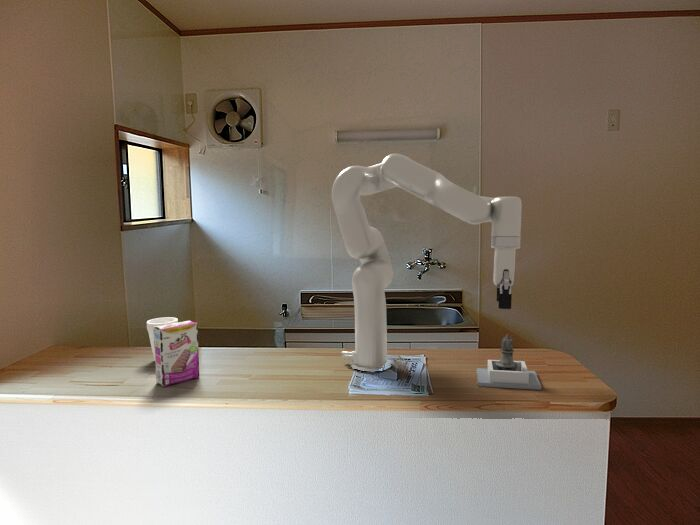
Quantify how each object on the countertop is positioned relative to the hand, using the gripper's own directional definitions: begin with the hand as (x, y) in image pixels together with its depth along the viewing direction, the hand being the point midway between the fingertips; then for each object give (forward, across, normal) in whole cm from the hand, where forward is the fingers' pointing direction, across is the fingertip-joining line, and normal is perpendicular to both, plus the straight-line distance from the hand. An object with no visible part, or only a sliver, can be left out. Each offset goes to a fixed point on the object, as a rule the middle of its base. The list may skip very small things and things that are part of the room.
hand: (503, 304), depth 140 cm
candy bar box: (+22, +18, -89) cm, 94 cm away
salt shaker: (+20, +1, +1) cm, 20 cm away
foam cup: (+23, +1, -104) cm, 107 cm away
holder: (+21, +1, +2) cm, 21 cm away
